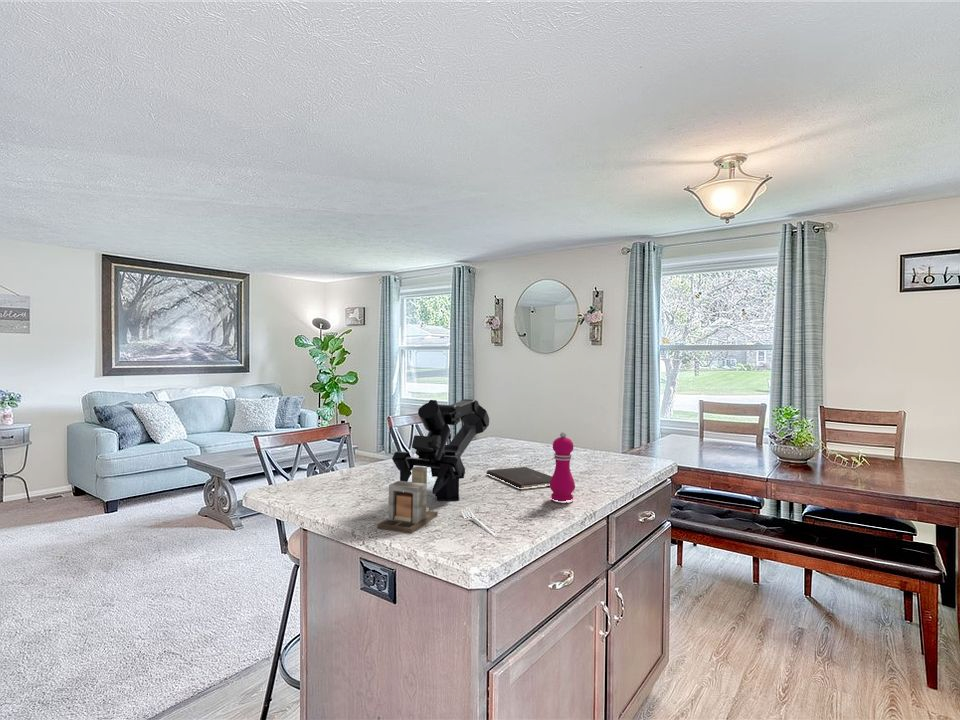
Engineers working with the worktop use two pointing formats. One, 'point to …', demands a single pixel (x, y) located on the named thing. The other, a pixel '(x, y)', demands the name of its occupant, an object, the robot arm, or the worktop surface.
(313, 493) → the worktop surface
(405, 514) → the beige orange stepped block
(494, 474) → the hardcover book
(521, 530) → the worktop surface
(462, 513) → the fork
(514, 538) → the worktop surface
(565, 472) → the pepper mill
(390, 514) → the tunnel
